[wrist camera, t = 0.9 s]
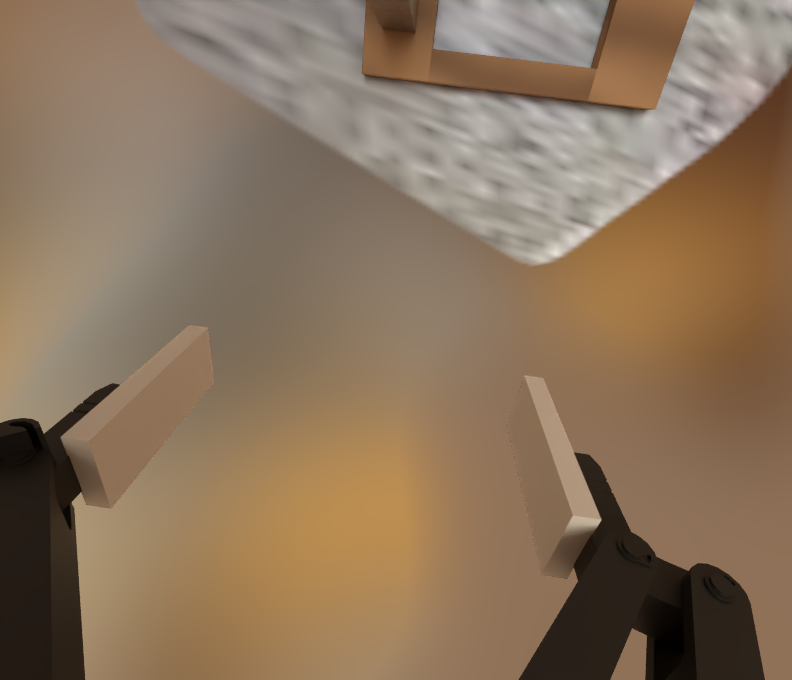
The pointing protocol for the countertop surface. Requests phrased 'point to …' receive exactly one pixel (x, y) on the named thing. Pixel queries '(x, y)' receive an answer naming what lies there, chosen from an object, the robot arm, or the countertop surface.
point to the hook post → (396, 14)
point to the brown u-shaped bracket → (601, 84)
